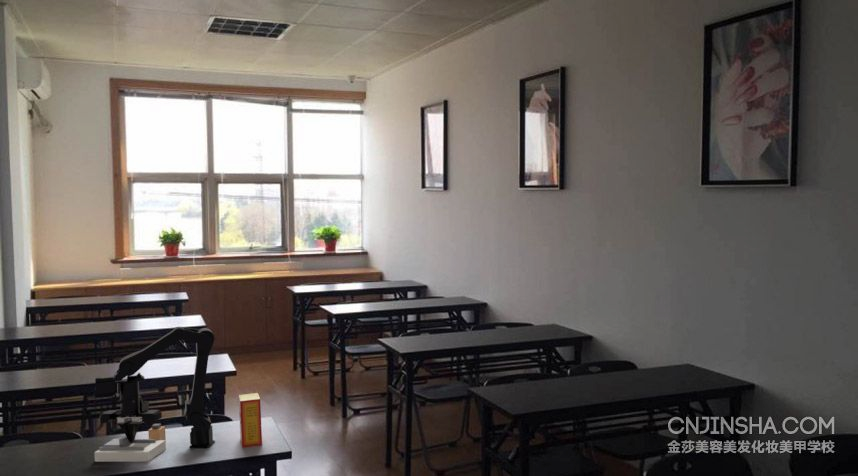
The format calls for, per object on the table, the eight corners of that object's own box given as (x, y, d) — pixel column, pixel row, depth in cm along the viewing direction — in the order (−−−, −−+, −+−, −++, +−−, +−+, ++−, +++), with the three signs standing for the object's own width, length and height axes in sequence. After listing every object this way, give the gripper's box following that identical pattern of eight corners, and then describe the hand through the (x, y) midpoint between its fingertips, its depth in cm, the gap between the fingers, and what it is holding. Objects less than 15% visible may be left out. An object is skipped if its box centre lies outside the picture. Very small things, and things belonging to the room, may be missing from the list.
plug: (165, 443, 243) (164, 422, 243) (160, 447, 239) (159, 426, 239) (154, 443, 243) (153, 422, 243) (149, 447, 239) (148, 426, 239)
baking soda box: (240, 439, 244) (238, 393, 244) (259, 437, 246) (257, 391, 246) (242, 447, 235) (240, 400, 235) (262, 445, 237) (260, 398, 237)
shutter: (133, 442, 235) (133, 433, 235) (123, 448, 228) (122, 439, 228) (114, 442, 235) (114, 433, 235) (104, 448, 229) (103, 439, 229)
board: (166, 449, 237) (165, 437, 237) (148, 461, 225) (147, 449, 225) (115, 449, 238) (114, 437, 238) (94, 461, 226) (94, 449, 226)
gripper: (168, 388, 238) (170, 434, 238) (115, 389, 240) (117, 434, 240) (152, 397, 227) (154, 445, 227) (97, 397, 229) (99, 445, 229)
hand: (131, 442), depth 231 cm, fingers closed
